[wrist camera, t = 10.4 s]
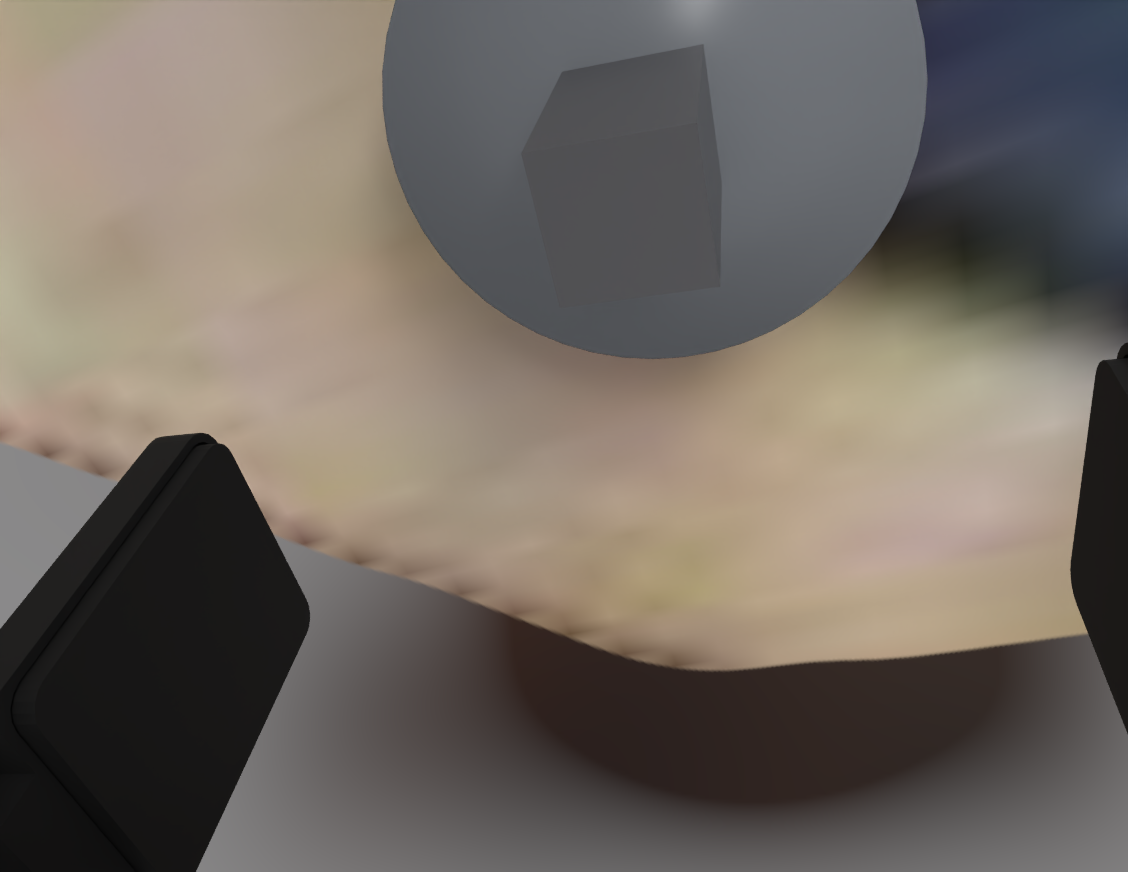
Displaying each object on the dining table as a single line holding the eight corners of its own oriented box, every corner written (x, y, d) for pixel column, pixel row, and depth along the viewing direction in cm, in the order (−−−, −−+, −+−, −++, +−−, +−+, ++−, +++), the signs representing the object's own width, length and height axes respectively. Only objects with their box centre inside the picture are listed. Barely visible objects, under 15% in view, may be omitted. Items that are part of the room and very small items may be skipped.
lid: (315, -114, 23) (188, -69, 18) (918, -271, 20) (990, -275, 14) (470, 369, 31) (415, 503, 26) (923, 314, 28) (971, 455, 22)
